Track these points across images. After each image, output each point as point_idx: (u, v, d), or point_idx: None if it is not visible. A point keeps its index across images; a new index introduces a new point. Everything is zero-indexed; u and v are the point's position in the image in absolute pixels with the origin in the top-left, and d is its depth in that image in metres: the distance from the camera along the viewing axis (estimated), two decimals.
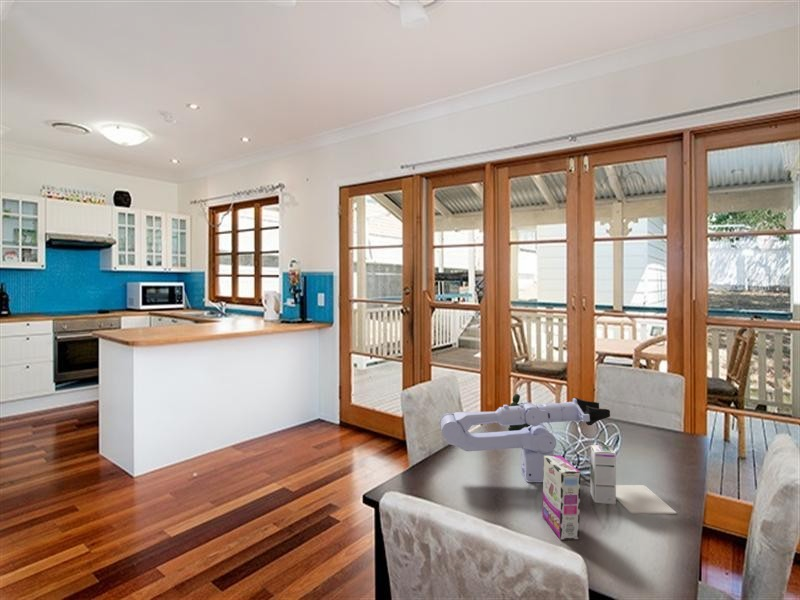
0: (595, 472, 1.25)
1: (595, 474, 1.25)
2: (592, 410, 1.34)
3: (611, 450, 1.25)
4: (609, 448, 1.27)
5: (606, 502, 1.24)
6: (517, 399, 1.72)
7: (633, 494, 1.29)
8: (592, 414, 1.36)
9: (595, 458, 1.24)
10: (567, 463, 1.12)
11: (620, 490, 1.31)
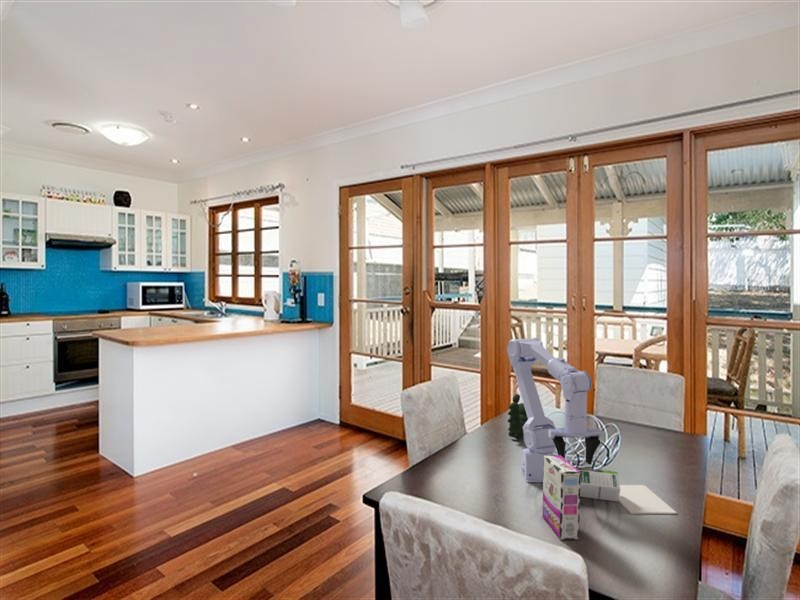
0: (585, 496, 1.28)
1: (587, 496, 1.28)
2: (557, 444, 1.25)
3: None
4: None
5: (617, 494, 1.24)
6: (517, 399, 1.72)
7: (633, 494, 1.29)
8: None
9: None
10: (567, 463, 1.12)
11: (620, 490, 1.31)
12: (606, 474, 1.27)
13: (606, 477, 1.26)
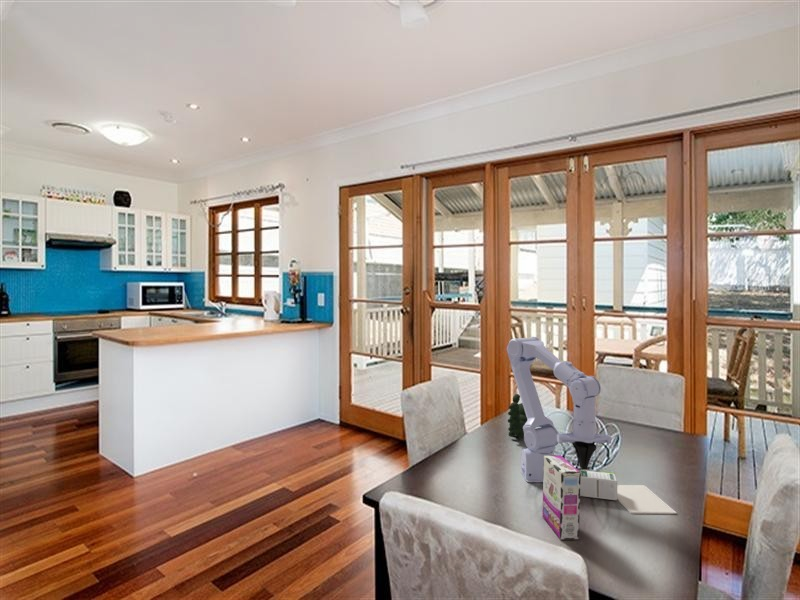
0: (583, 495, 1.28)
1: (586, 495, 1.28)
2: (578, 449, 1.25)
3: None
4: None
5: (615, 489, 1.25)
6: (517, 399, 1.72)
7: (633, 494, 1.29)
8: None
9: None
10: (567, 463, 1.12)
11: (620, 490, 1.31)
12: (603, 473, 1.30)
13: (603, 474, 1.29)
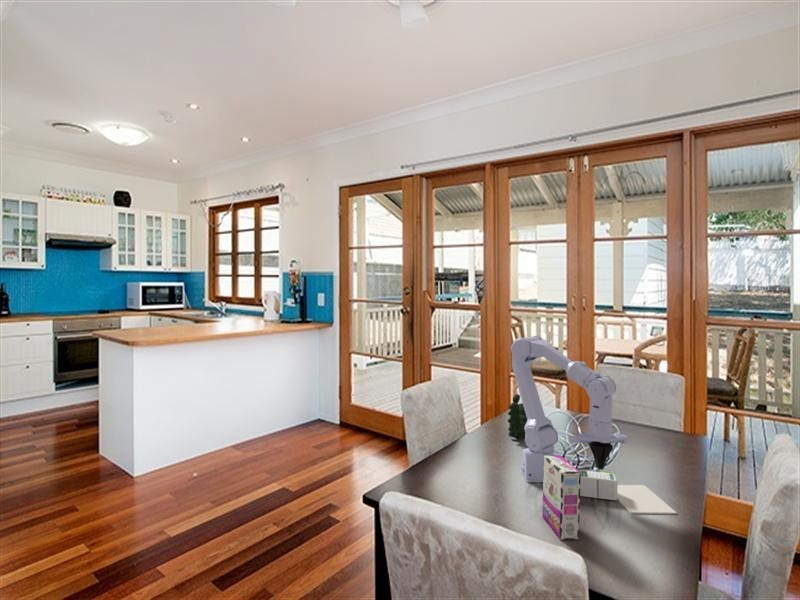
0: (583, 495, 1.28)
1: (586, 495, 1.28)
2: (594, 450, 1.25)
3: None
4: None
5: (615, 489, 1.25)
6: (517, 399, 1.72)
7: (633, 494, 1.29)
8: None
9: None
10: (567, 463, 1.12)
11: (620, 490, 1.31)
12: (603, 473, 1.30)
13: (603, 474, 1.29)
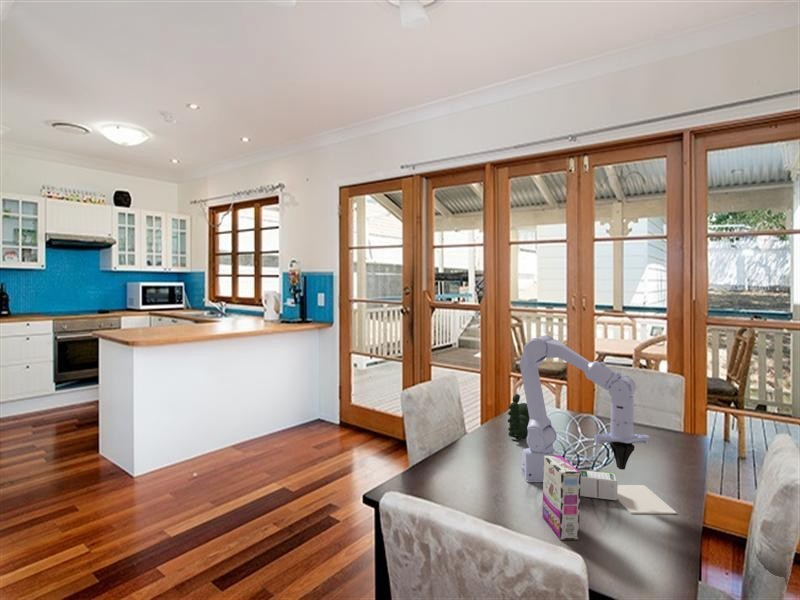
0: (583, 495, 1.28)
1: (586, 495, 1.28)
2: (616, 450, 1.25)
3: None
4: None
5: (615, 489, 1.25)
6: (517, 399, 1.72)
7: (633, 494, 1.29)
8: None
9: None
10: (567, 463, 1.12)
11: (620, 490, 1.31)
12: (603, 473, 1.30)
13: (603, 474, 1.29)
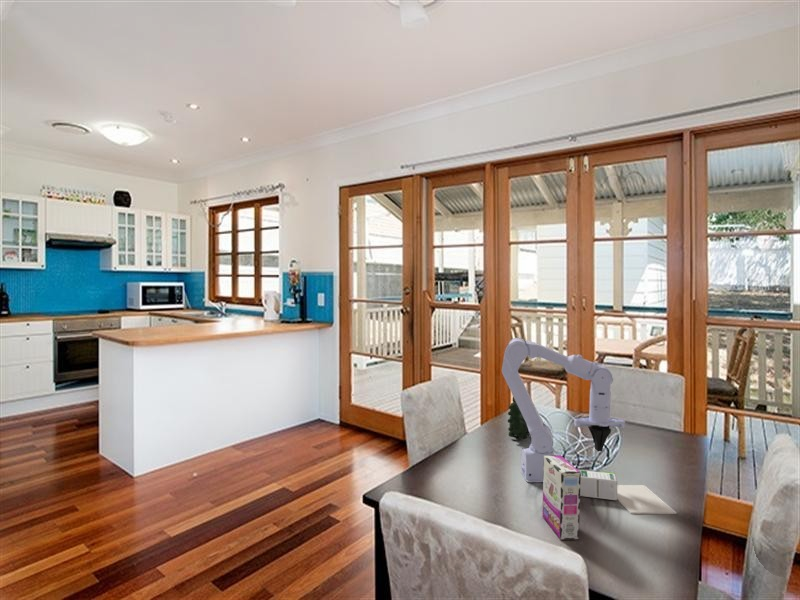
0: (583, 495, 1.28)
1: (586, 495, 1.28)
2: (594, 433, 1.34)
3: None
4: None
5: (615, 489, 1.25)
6: None
7: (633, 494, 1.29)
8: None
9: None
10: (567, 463, 1.12)
11: (620, 490, 1.31)
12: (603, 473, 1.30)
13: (603, 474, 1.29)
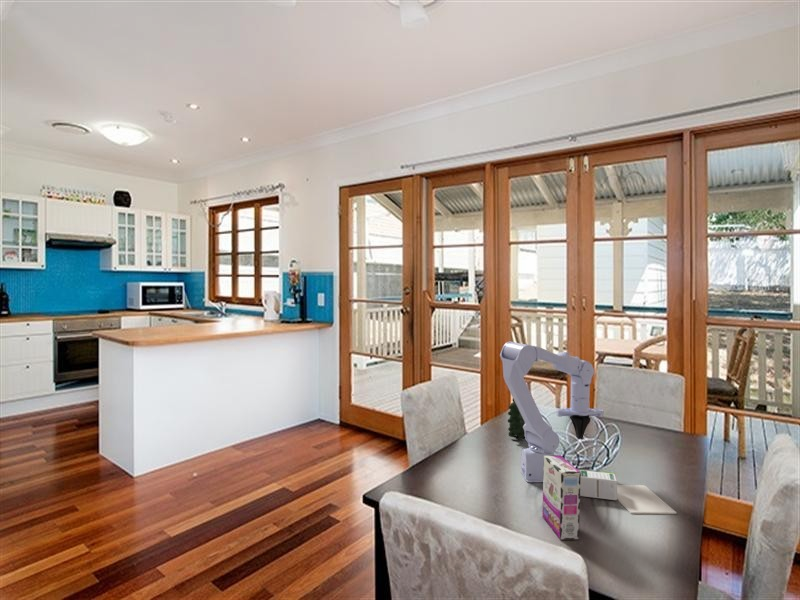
0: (583, 495, 1.28)
1: (586, 495, 1.28)
2: (574, 422, 1.45)
3: None
4: None
5: (615, 489, 1.25)
6: None
7: (633, 494, 1.29)
8: None
9: None
10: (567, 463, 1.12)
11: (620, 490, 1.31)
12: (603, 473, 1.30)
13: (603, 474, 1.29)
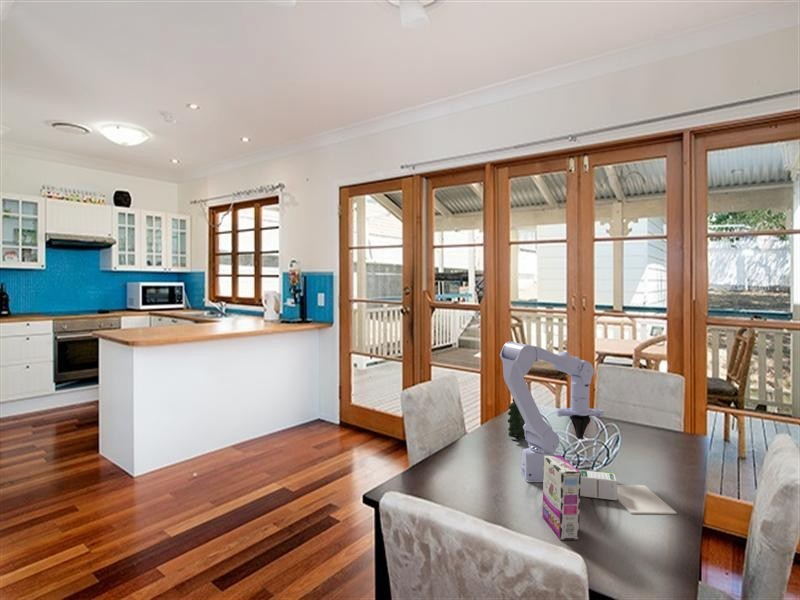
0: (583, 495, 1.28)
1: (586, 495, 1.28)
2: (574, 422, 1.45)
3: None
4: None
5: (615, 489, 1.25)
6: None
7: (633, 494, 1.29)
8: None
9: None
10: (567, 463, 1.12)
11: (620, 490, 1.31)
12: (603, 473, 1.30)
13: (603, 474, 1.29)
